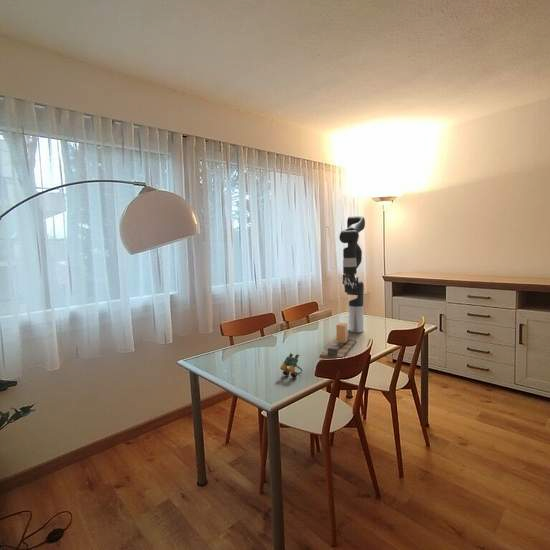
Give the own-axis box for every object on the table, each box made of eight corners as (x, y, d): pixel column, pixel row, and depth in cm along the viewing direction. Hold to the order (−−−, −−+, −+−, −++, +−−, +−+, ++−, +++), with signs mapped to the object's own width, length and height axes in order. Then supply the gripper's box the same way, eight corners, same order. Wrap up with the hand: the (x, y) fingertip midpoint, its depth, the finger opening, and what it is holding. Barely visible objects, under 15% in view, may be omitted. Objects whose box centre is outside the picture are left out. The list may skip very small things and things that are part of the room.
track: (336, 340, 198) (336, 333, 197) (356, 342, 192) (356, 335, 192) (319, 357, 172) (319, 348, 171) (342, 360, 166) (341, 351, 166)
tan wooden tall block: (339, 339, 190) (338, 322, 189) (347, 340, 188) (347, 323, 187) (336, 342, 186) (336, 324, 185) (345, 343, 184) (345, 325, 182)
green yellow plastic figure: (283, 378, 153) (276, 365, 147) (291, 362, 159) (284, 349, 153) (300, 382, 148) (293, 369, 142) (308, 366, 153) (302, 352, 148)
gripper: (362, 266, 181) (362, 294, 183) (349, 264, 194) (350, 290, 197) (350, 267, 179) (350, 296, 181) (338, 265, 192) (338, 292, 195)
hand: (350, 293), depth 189 cm, fingers open, 8 cm apart
